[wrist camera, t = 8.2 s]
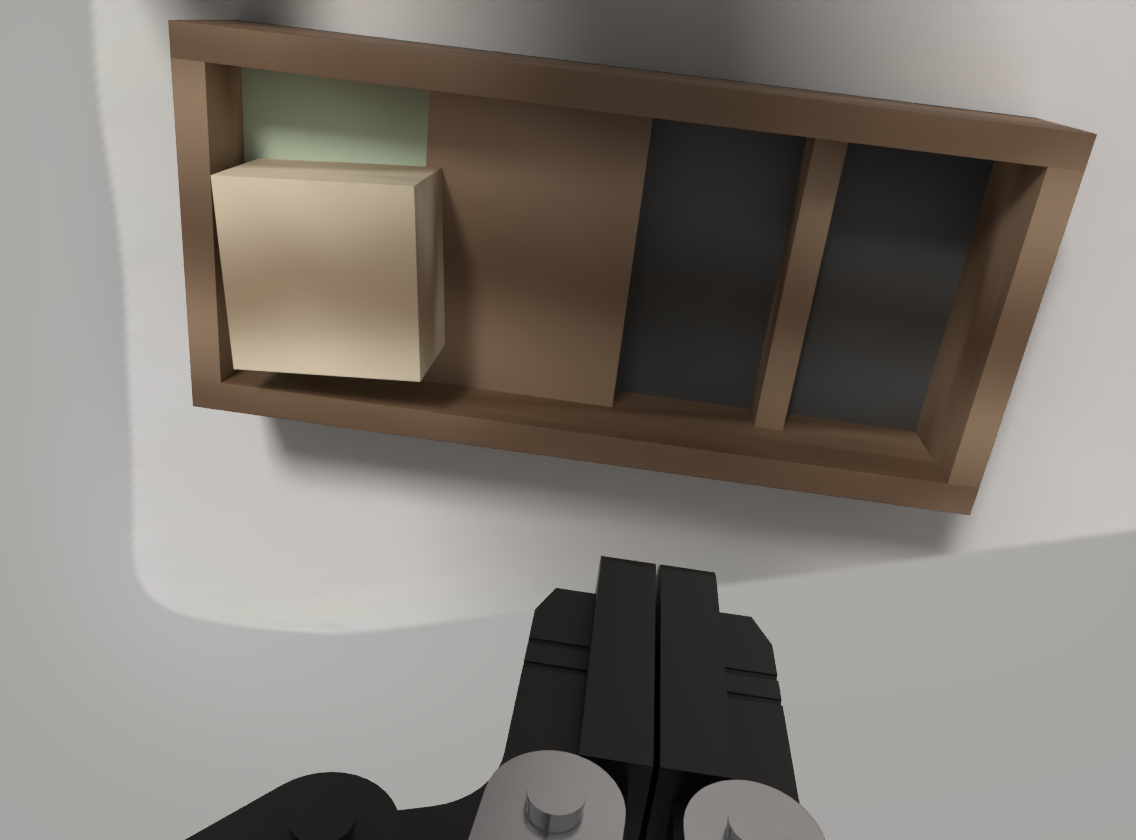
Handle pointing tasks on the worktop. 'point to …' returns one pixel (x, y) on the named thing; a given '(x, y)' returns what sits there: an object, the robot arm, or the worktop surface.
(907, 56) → the worktop surface
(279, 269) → the block
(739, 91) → the divided wooden tray
